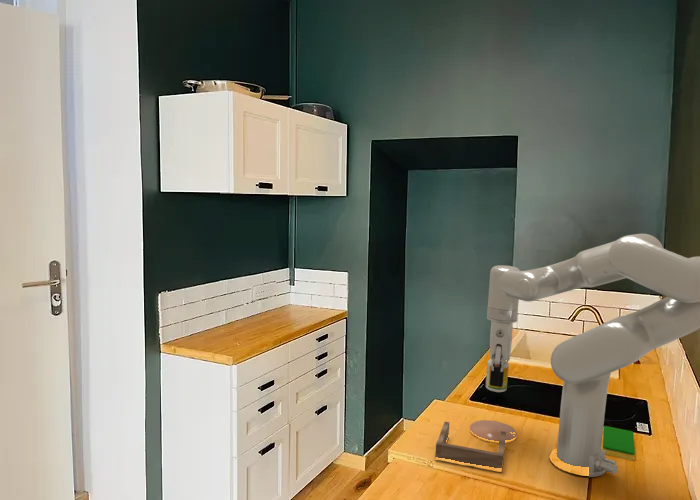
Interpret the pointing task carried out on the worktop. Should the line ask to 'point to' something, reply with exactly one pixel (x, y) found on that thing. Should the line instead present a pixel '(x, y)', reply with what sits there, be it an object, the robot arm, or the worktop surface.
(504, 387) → the supplement bottle
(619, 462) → the worktop surface
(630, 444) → the dish sponge
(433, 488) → the worktop surface
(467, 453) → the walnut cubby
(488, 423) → the terracotta coaster
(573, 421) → the robot arm
